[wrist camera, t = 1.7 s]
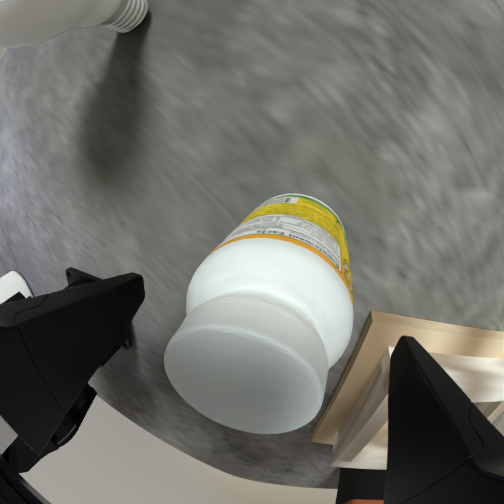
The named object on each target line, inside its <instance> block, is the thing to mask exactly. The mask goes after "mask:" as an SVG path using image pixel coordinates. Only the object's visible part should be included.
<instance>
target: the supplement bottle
mask: <svg viewBox="0 0 504 504" xmlns="http://www.w3.org/2000/svg"><path fill="white" fill-rule="evenodd" d="M186 312H187V316H186V318H185V319H184V321H183V323H182V325H181V326H180V327H179V329H178V330H177V331H176V333H175V334H174V335H173V337H172V338H171V339H170V341H169V343H168V345H167V347H166V350H165V354H164V366H165V371H166V374H167V376H168V378H169V380H170V382H171V384H172V385H173V387H174V389H175V390H176V391H177V392H178V394H179V395H180V396H181V397H182V398H183V399H184V400H185V401H186V402H187V403H188V404H189V405H191V406H192V407H193V408H194V409H196V410H197V411H198V412H200V413H201V414H203V415H204V416H206V417H208V418H209V419H211V420H213V421H215V422H217V423H220V424H222V425H225V426H227V427H230V428H233V429H237V430H240V431H245V432H250V433H257V434H279V433H285V432H288V431H292V430H296V429H298V428H301V427H302V426H304V425H306V424H307V423H309V422H310V421H311V420H312V419H313V418H314V417H315V416H316V415H317V413H318V412H319V411H320V408H321V406H322V403H323V399H324V394H325V388H326V381H327V375H328V370H329V369H330V368H331V367H332V366H333V365H334V364H335V363H336V362H337V361H338V360H339V358H340V357H341V356H342V354H343V353H344V351H345V349H346V347H347V345H348V343H349V340H350V337H351V333H352V328H353V295H352V282H351V271H350V264H349V254H348V245H347V240H346V235H345V231H344V228H343V225H342V223H341V221H340V219H339V218H338V216H337V215H336V213H335V212H334V211H333V210H332V209H331V208H330V207H329V206H327V205H326V204H325V203H323V202H321V201H320V200H318V199H316V198H313V197H311V196H307V195H302V194H284V195H279V196H276V197H273V198H271V199H269V200H267V201H265V202H264V203H262V204H261V205H260V206H258V207H257V208H256V209H255V210H254V211H253V212H252V213H251V214H250V215H249V216H248V217H247V218H246V219H245V220H244V221H243V222H242V223H241V224H240V225H239V226H238V227H237V228H236V229H235V230H234V231H233V232H232V233H231V234H230V235H229V236H228V237H227V238H226V239H225V240H224V241H223V242H221V243H220V244H219V245H218V246H217V247H216V248H215V249H214V250H213V251H212V252H211V253H210V254H209V256H208V257H207V258H206V259H205V260H204V261H203V262H202V263H201V265H200V266H199V267H198V269H197V270H196V272H195V274H194V276H193V277H192V279H191V282H190V285H189V288H188V292H187V298H186Z"/></svg>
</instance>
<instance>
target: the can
mask: <svg viewBox="0 0 504 504" xmlns="http://www.w3.org/2000/svg"><path fill="white" fill-rule="evenodd" d="M19 291H20V292H21V293H22V294H23V295H24V296H25V298H27V297H29V296H31V297H32V298H33V297H34V295H33V293H32V291H31V289H30V287H29V285H28V283H27V282H26V280H25V279H24V278H23V276H22V275H21V274H19V273H18V272H15V271H11V272H9V273H8V274H6V275H4V276H3V277H1V278H0V304H1V303H3V302H4V301H6V300H7V299H9V298H10V297H12V296H13V295H14V294H16V293H17V292H19Z"/></svg>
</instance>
